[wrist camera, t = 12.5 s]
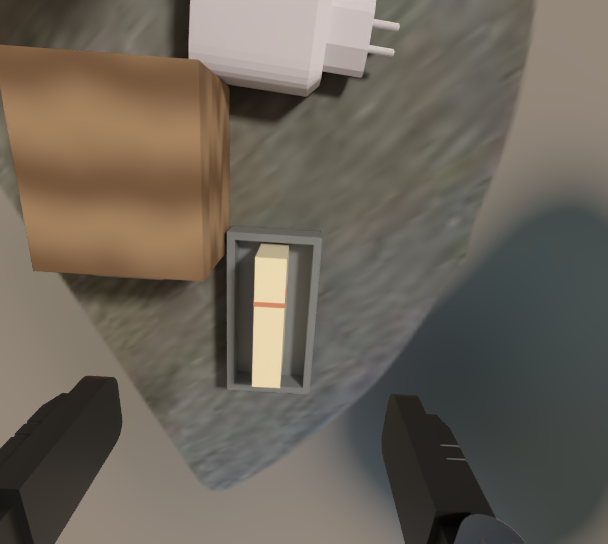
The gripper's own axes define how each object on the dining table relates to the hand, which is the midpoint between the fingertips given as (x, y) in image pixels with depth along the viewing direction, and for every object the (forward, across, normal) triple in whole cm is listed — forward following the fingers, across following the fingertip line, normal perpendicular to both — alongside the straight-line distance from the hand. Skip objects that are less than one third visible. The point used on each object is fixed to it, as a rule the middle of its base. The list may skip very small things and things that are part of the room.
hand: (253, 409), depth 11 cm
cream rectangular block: (+24, +1, +8) cm, 25 cm away
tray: (+25, +1, +9) cm, 26 cm away
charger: (+26, 0, -16) cm, 30 cm away
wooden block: (+25, +11, -4) cm, 28 cm away
